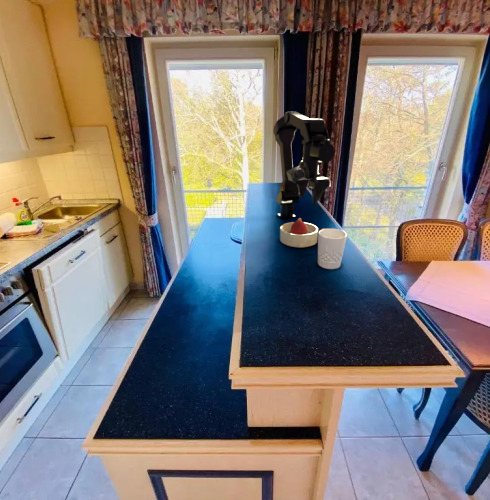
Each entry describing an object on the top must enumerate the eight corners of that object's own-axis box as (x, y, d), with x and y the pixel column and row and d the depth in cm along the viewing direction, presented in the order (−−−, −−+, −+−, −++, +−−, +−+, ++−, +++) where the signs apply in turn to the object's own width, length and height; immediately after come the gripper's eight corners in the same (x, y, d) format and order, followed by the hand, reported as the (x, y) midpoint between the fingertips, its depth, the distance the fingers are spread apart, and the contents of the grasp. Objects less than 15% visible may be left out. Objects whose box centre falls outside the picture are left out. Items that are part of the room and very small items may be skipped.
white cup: (324, 255, 90) (328, 226, 85) (347, 263, 84) (352, 233, 80) (310, 264, 85) (313, 233, 80) (333, 273, 79) (337, 240, 75)
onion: (302, 244, 97) (303, 222, 93) (287, 240, 100) (288, 219, 96) (308, 238, 101) (310, 217, 98) (294, 235, 104) (295, 214, 101)
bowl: (273, 237, 104) (274, 224, 102) (304, 232, 108) (305, 220, 106) (290, 251, 93) (291, 237, 91) (324, 245, 97) (325, 231, 95)
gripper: (279, 156, 104) (277, 197, 110) (303, 163, 88) (300, 211, 95) (305, 154, 107) (302, 194, 114) (334, 161, 91) (328, 207, 98)
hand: (307, 201), depth 105 cm, fingers open, 9 cm apart
